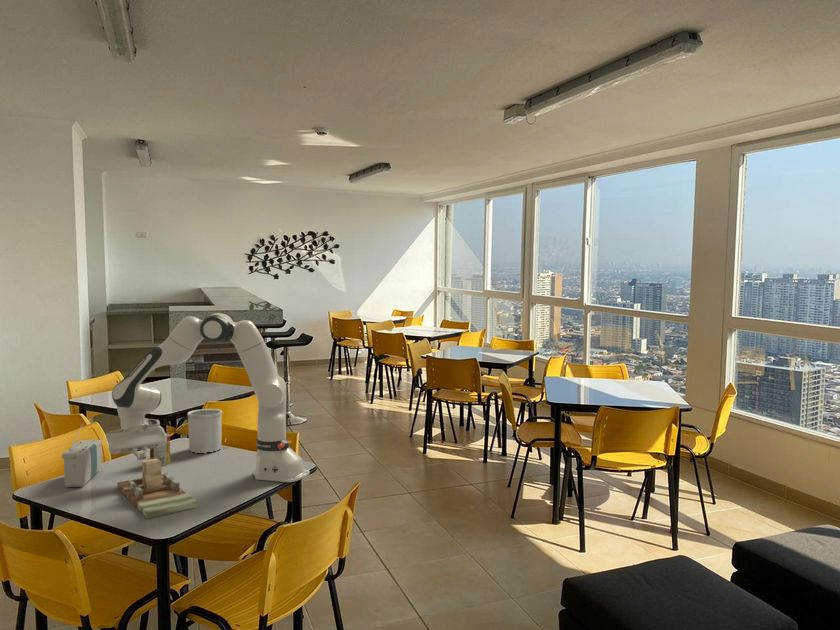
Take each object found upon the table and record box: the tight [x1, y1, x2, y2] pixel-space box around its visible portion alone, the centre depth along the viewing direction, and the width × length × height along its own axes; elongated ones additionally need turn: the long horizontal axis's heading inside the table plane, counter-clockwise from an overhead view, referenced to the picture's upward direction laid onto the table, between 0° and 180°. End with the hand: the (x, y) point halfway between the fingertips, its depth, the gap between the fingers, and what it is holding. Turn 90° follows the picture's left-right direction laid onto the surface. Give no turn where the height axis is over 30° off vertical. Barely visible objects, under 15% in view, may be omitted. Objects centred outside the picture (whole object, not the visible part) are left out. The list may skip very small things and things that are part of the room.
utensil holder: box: [187, 408, 223, 454], centre depth 275 cm, size 15×15×18 cm
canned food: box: [149, 432, 171, 467], centre depth 254 cm, size 8×8×12 cm
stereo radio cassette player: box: [61, 423, 103, 488], centre depth 232 cm, size 21×8×20 cm, turn 12°
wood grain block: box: [138, 459, 167, 493], centre depth 217 cm, size 8×8×10 cm
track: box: [116, 472, 198, 519], centre depth 214 cm, size 37×16×5 cm, turn 40°
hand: (142, 458), depth 226 cm, fingers closed
